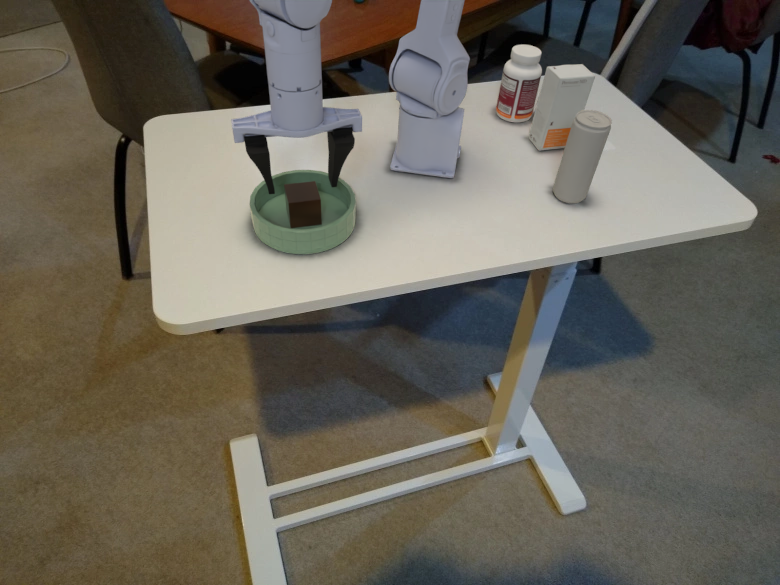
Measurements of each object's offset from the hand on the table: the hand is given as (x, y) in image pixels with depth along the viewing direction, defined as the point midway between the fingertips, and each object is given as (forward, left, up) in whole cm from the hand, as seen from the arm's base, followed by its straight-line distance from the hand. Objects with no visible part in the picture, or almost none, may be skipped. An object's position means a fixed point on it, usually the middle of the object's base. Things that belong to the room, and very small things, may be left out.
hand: (302, 186), depth 71 cm
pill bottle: (-27, -36, -6) cm, 45 cm away
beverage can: (-35, -14, -6) cm, 38 cm away
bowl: (0, 0, -5) cm, 5 cm away
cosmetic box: (-33, -28, -6) cm, 44 cm away
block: (0, 0, -5) cm, 5 cm away
